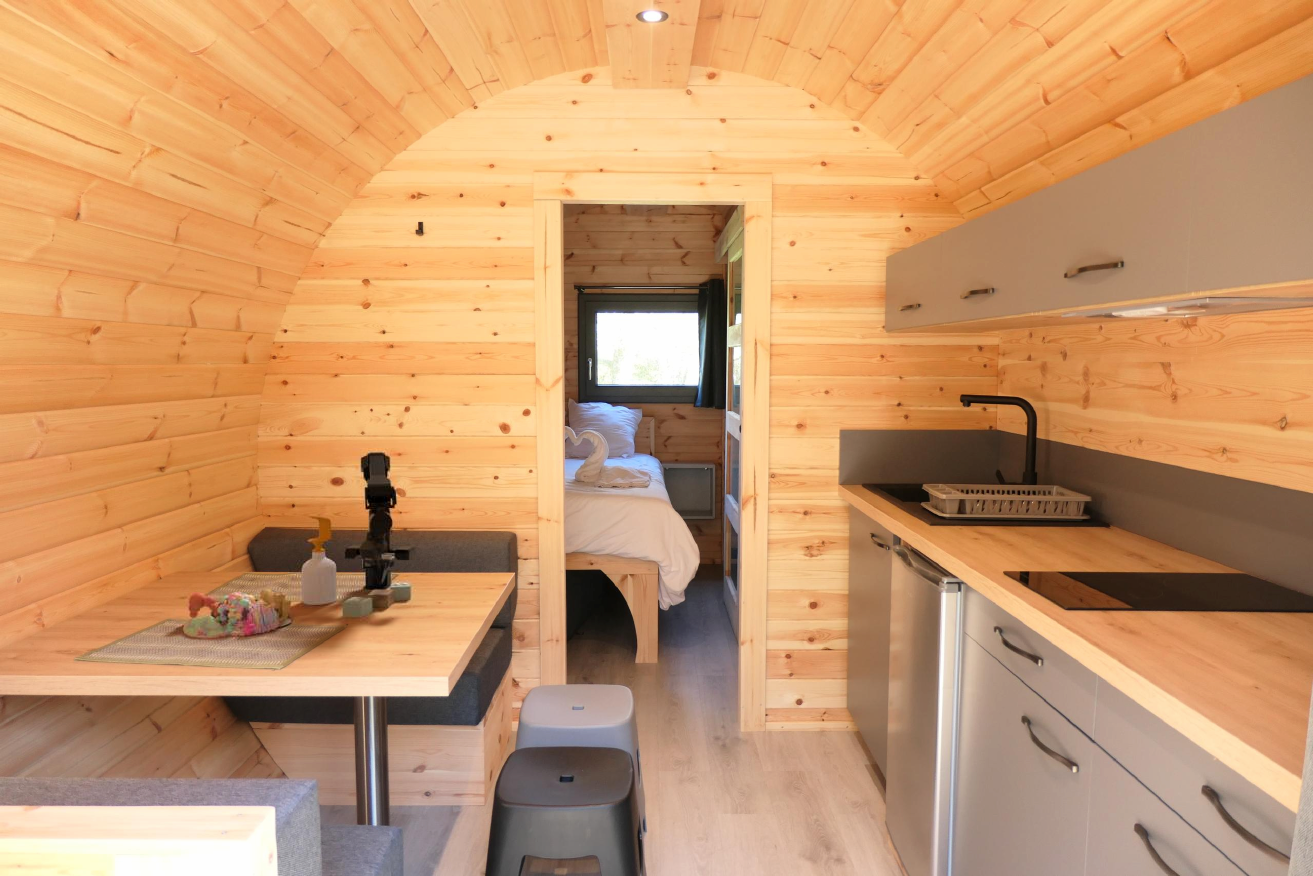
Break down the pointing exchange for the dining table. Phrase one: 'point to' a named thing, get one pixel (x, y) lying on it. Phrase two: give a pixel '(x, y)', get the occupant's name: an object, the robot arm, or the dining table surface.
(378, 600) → the walnut block
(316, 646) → the dining table surface
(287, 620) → the colorful coral reef ornament
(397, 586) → the dotted block two
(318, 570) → the soap bottle
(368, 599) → the grey-green block
